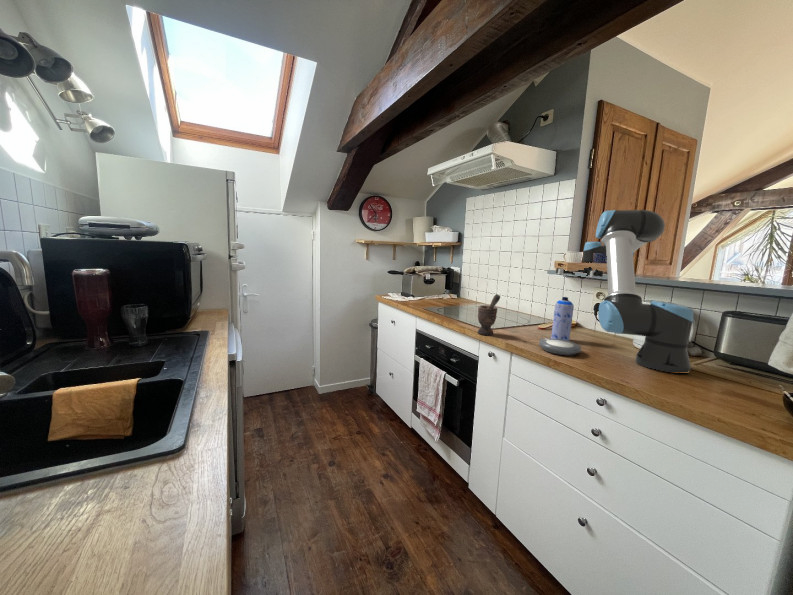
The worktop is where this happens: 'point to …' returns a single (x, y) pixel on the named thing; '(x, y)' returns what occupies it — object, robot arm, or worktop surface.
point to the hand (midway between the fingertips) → (574, 272)
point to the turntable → (559, 345)
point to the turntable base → (559, 352)
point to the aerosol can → (562, 319)
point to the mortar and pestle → (487, 316)
